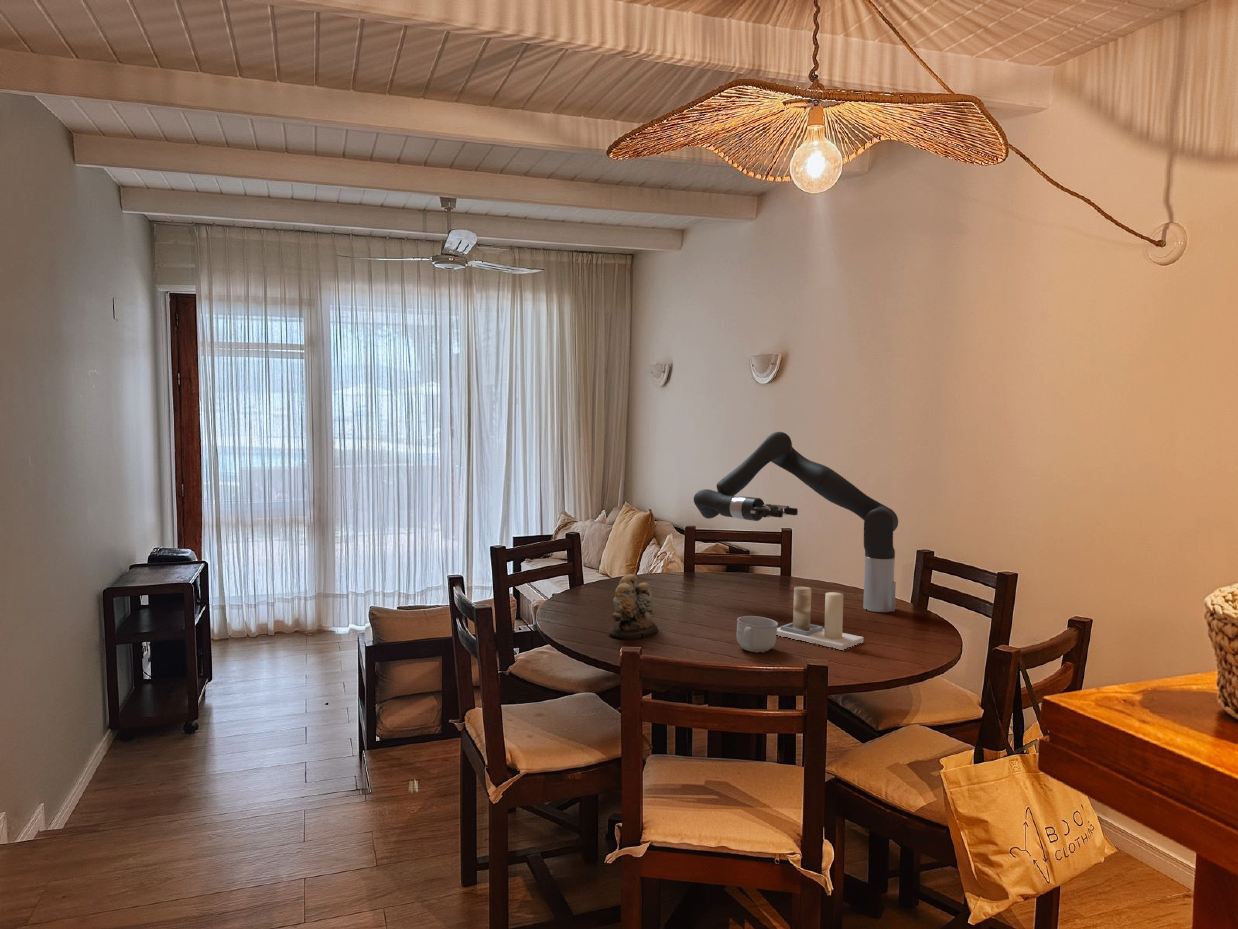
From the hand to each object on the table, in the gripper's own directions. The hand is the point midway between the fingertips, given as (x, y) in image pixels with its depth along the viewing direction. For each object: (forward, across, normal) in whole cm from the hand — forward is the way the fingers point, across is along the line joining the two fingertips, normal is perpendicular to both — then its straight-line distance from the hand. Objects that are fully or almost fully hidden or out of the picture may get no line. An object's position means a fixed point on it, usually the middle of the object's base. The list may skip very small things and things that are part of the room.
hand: (789, 513), depth 260 cm
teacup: (+16, -42, +32) cm, 55 cm away
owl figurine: (-18, -52, +32) cm, 64 cm away
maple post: (+17, -19, +30) cm, 40 cm away
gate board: (+22, -19, +32) cm, 43 cm away
